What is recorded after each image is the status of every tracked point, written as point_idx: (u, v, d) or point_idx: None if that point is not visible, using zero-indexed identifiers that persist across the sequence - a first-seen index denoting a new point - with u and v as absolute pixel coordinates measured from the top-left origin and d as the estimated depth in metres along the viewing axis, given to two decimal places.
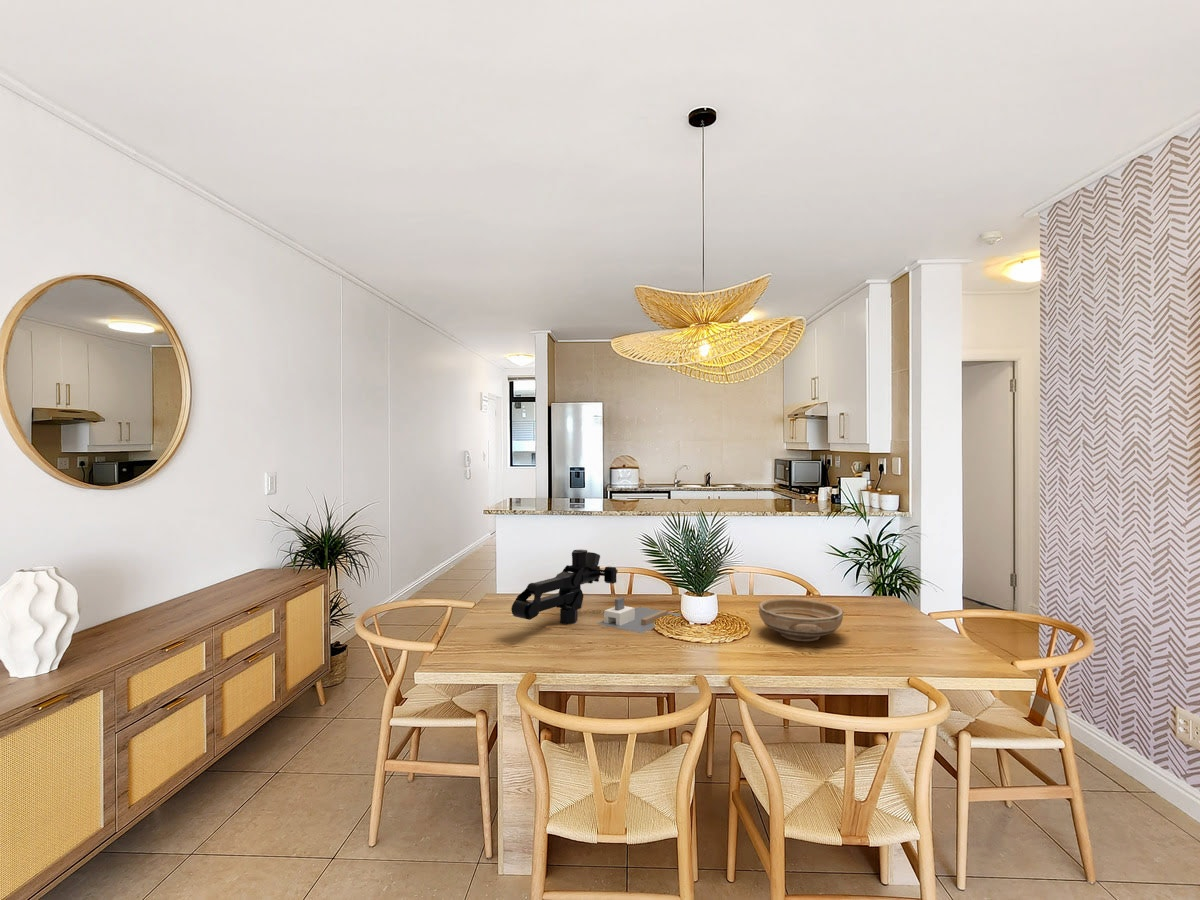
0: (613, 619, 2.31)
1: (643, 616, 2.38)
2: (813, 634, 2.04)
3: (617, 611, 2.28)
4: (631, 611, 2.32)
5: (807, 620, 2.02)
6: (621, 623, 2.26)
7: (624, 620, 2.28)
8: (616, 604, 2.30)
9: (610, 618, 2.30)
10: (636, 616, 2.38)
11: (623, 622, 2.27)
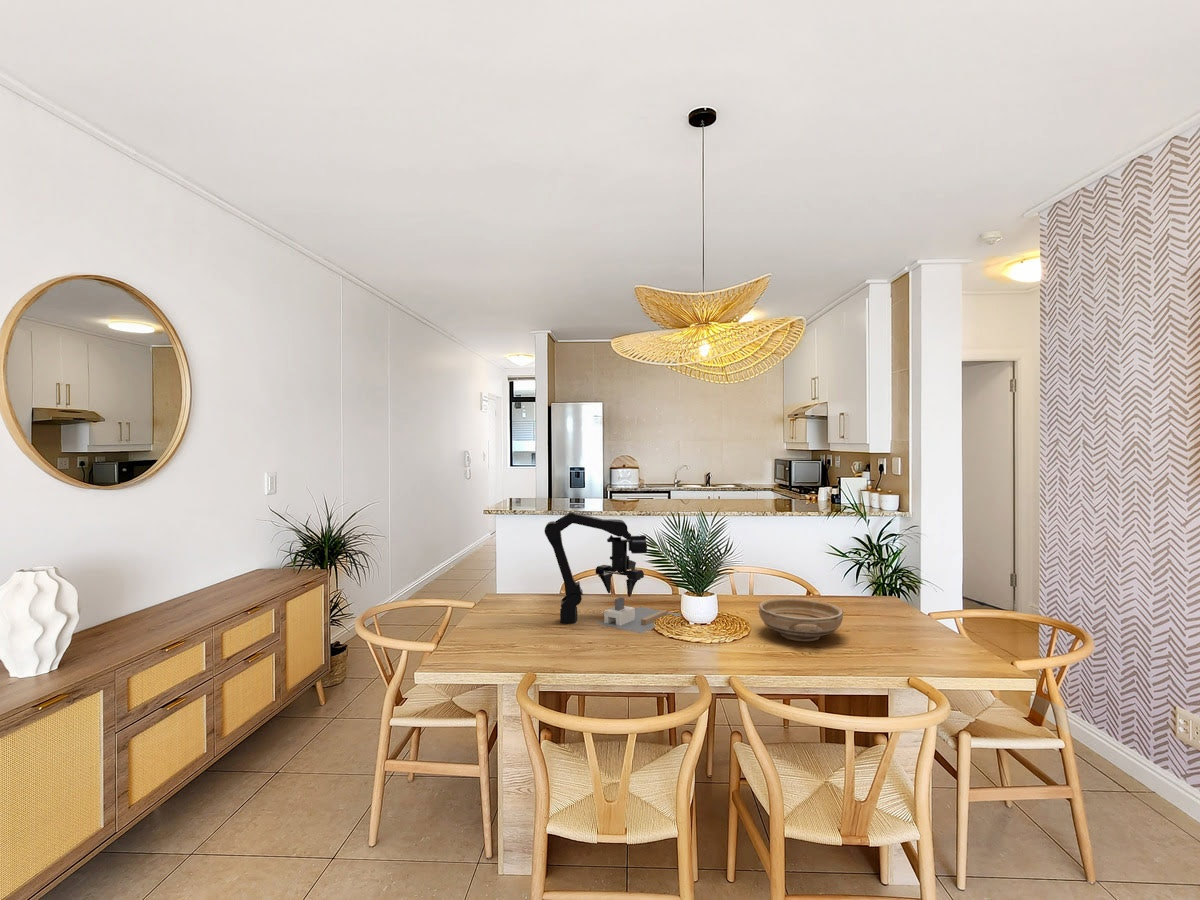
0: (613, 619, 2.31)
1: (643, 616, 2.38)
2: (813, 634, 2.04)
3: (617, 611, 2.28)
4: (631, 611, 2.32)
5: (807, 620, 2.02)
6: (621, 623, 2.26)
7: (624, 620, 2.28)
8: (616, 604, 2.30)
9: (610, 618, 2.30)
10: (636, 616, 2.38)
11: (623, 622, 2.27)
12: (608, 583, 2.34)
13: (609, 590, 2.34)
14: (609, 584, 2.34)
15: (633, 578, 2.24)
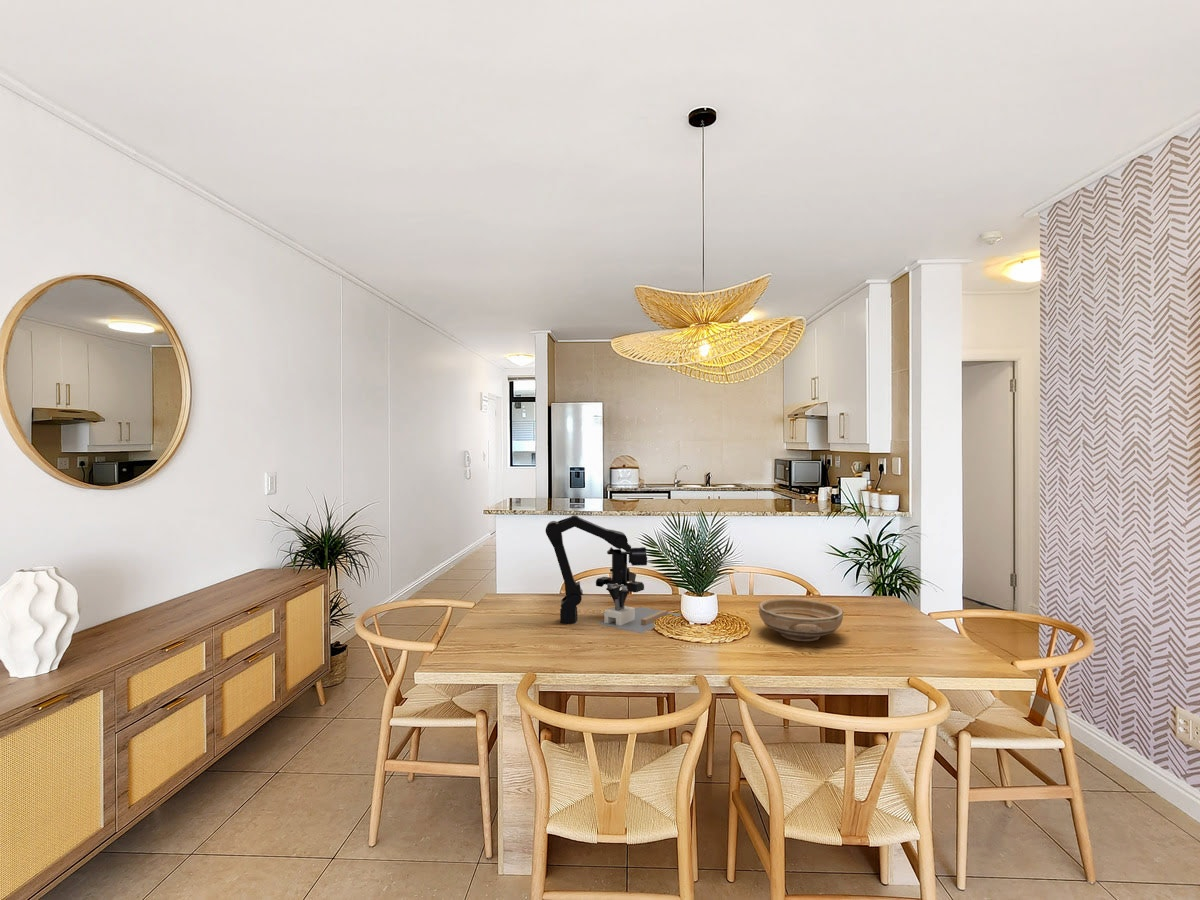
0: (613, 619, 2.31)
1: (643, 616, 2.38)
2: (813, 634, 2.04)
3: (617, 611, 2.28)
4: (631, 611, 2.32)
5: (807, 620, 2.02)
6: (621, 623, 2.26)
7: (624, 620, 2.28)
8: (616, 604, 2.30)
9: (610, 618, 2.30)
10: (636, 616, 2.38)
11: (623, 622, 2.27)
12: (616, 596, 2.32)
13: None
14: (617, 597, 2.32)
15: (633, 590, 2.24)
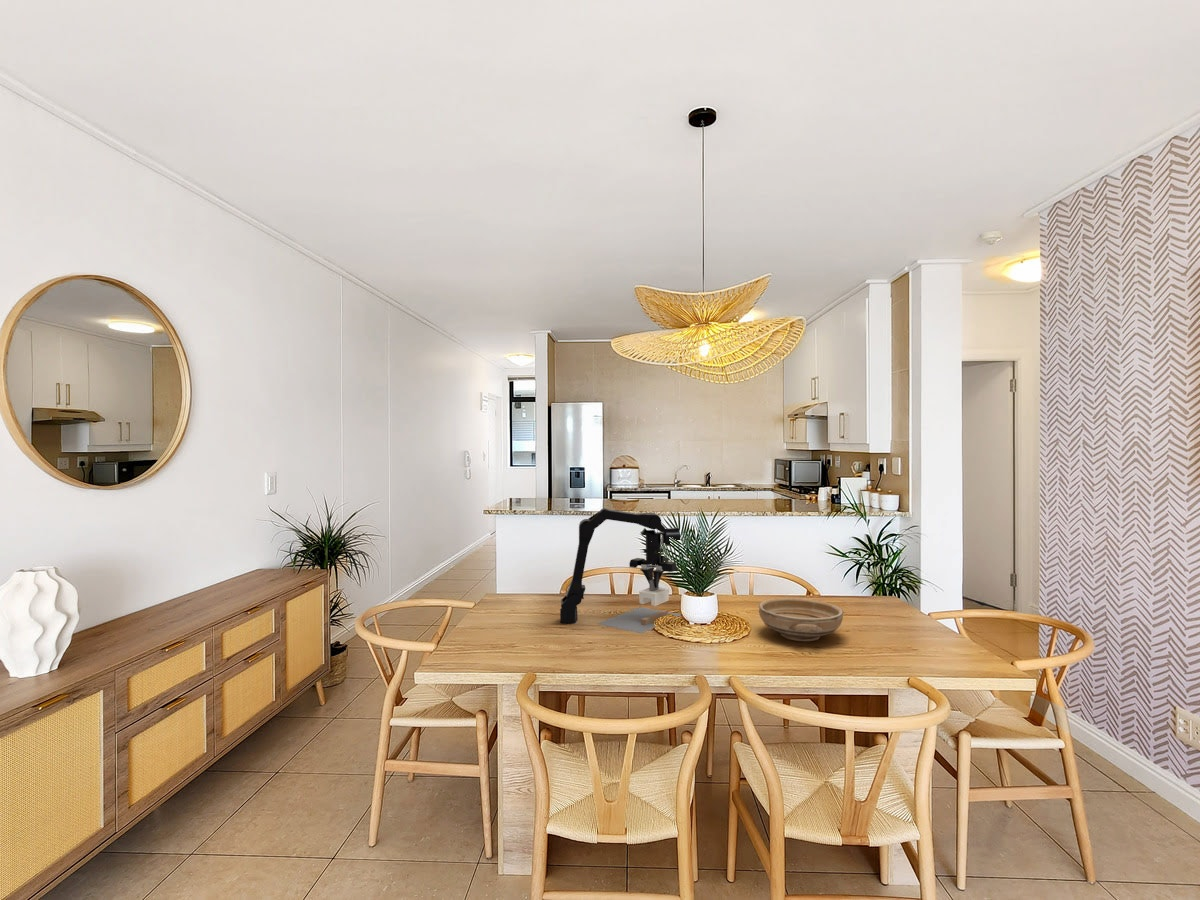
0: (648, 600, 2.33)
1: (643, 616, 2.38)
2: (813, 634, 2.04)
3: (652, 592, 2.30)
4: (665, 592, 2.33)
5: (807, 620, 2.02)
6: (656, 603, 2.28)
7: (659, 600, 2.29)
8: (651, 585, 2.31)
9: (645, 599, 2.31)
10: (636, 616, 2.38)
11: (658, 602, 2.29)
12: (650, 577, 2.33)
13: None
14: (651, 577, 2.33)
15: (668, 570, 2.25)
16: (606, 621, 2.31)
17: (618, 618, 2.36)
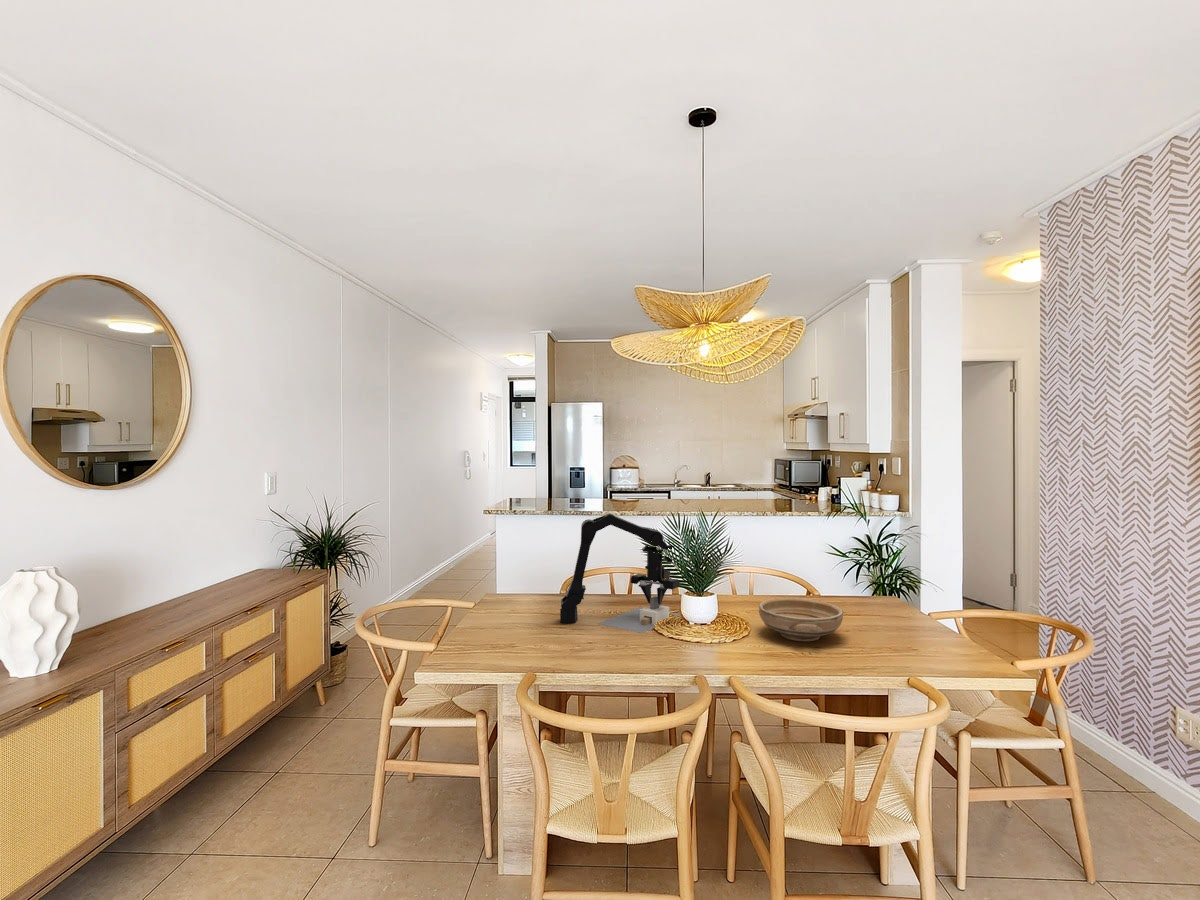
0: None
1: None
2: (813, 634, 2.04)
3: (653, 610, 2.30)
4: (666, 610, 2.33)
5: (807, 620, 2.02)
6: None
7: (660, 619, 2.29)
8: (651, 603, 2.31)
9: None
10: (636, 616, 2.38)
11: None
12: (648, 593, 2.34)
13: (649, 600, 2.34)
14: (649, 594, 2.34)
15: (669, 587, 2.25)
16: (606, 621, 2.31)
17: (618, 618, 2.36)
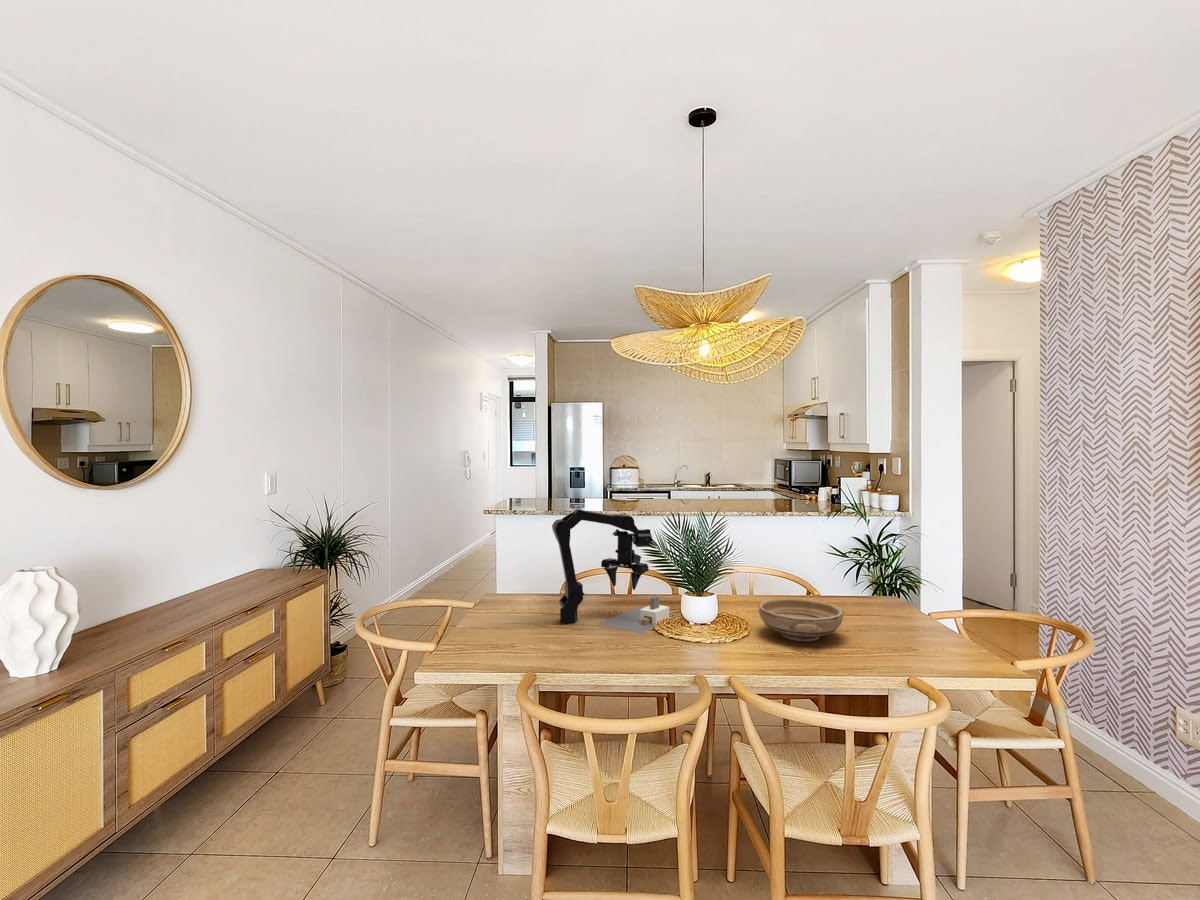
0: None
1: None
2: (813, 634, 2.04)
3: (653, 610, 2.30)
4: (666, 610, 2.33)
5: (807, 620, 2.02)
6: None
7: (660, 619, 2.29)
8: (651, 603, 2.31)
9: None
10: (636, 616, 2.38)
11: None
12: (613, 576, 2.39)
13: (614, 583, 2.39)
14: (614, 577, 2.39)
15: (638, 571, 2.29)
16: (606, 621, 2.31)
17: (618, 618, 2.36)
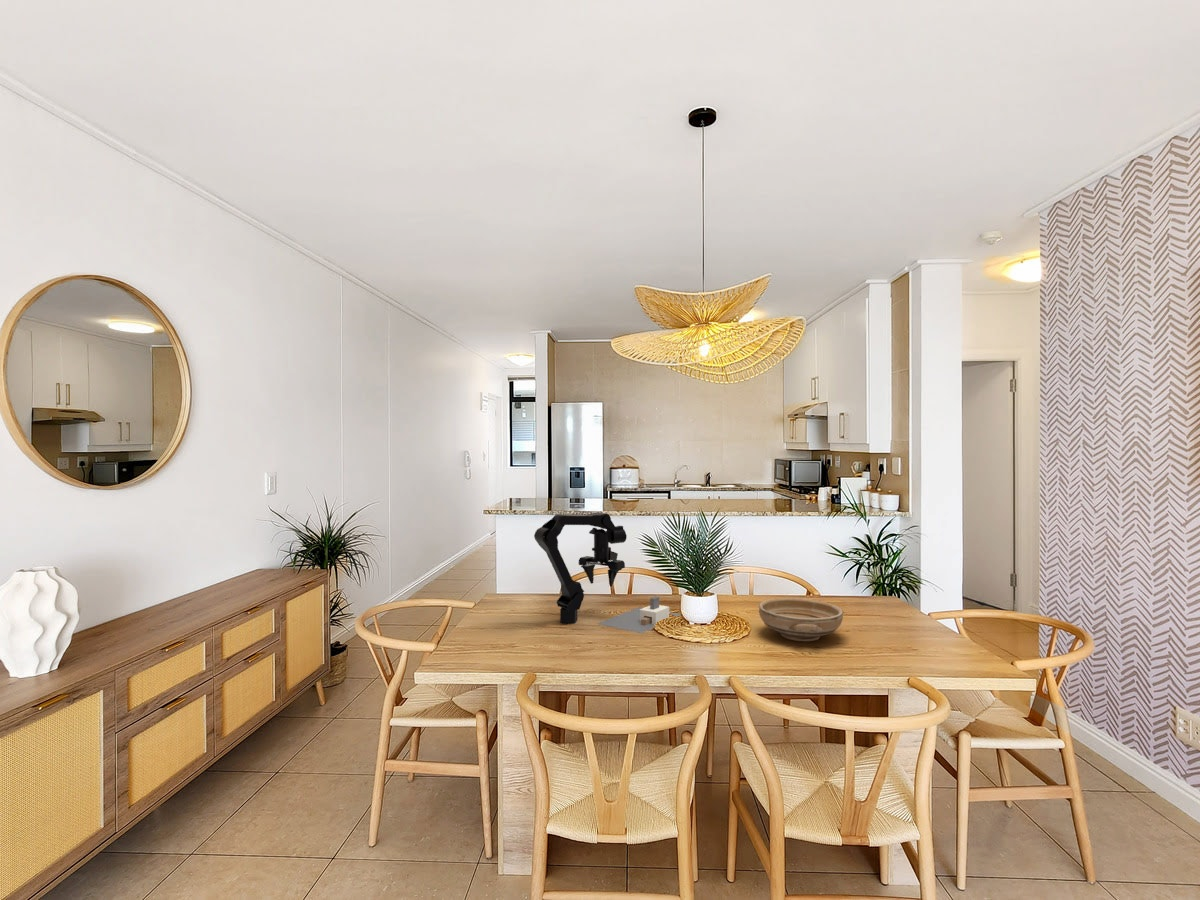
0: None
1: None
2: (813, 634, 2.04)
3: (653, 610, 2.30)
4: (666, 610, 2.33)
5: (807, 620, 2.02)
6: None
7: (660, 619, 2.29)
8: (651, 603, 2.31)
9: None
10: (636, 616, 2.38)
11: None
12: (591, 574, 2.42)
13: (592, 580, 2.42)
14: (591, 574, 2.42)
15: (614, 568, 2.32)
16: (606, 621, 2.31)
17: (618, 618, 2.36)
